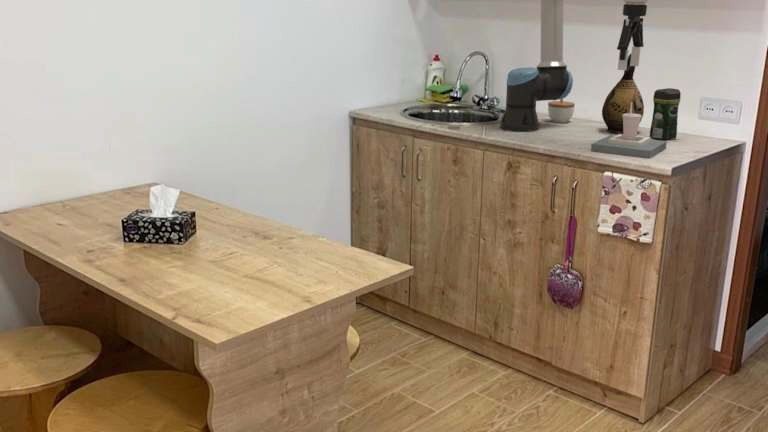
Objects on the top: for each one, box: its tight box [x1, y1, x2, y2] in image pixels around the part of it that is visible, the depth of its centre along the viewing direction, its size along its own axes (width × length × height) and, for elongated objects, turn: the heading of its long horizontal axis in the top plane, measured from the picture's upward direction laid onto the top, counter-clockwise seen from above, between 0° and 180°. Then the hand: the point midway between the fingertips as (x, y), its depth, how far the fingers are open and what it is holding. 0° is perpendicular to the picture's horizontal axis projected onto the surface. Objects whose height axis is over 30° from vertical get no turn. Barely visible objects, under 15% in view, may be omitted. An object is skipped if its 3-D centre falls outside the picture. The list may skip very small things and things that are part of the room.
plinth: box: [590, 133, 668, 159], centre depth 267 cm, size 20×20×4 cm
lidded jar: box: [547, 98, 575, 124], centre depth 320 cm, size 11×11×9 cm
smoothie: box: [622, 102, 642, 141], centre depth 265 cm, size 6×6×14 cm
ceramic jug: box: [601, 53, 645, 134], centre depth 297 cm, size 17×15×30 cm
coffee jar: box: [649, 87, 682, 141], centre depth 285 cm, size 10×8×19 cm
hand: (628, 68), depth 264 cm, fingers open, 13 cm apart
